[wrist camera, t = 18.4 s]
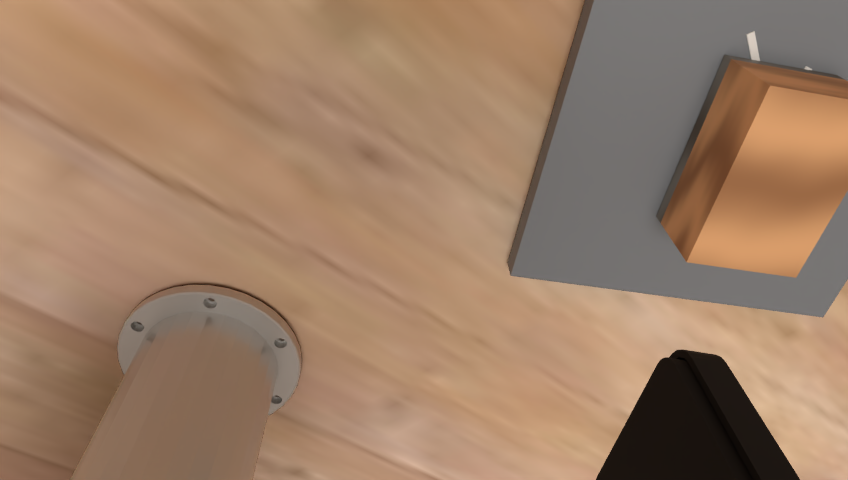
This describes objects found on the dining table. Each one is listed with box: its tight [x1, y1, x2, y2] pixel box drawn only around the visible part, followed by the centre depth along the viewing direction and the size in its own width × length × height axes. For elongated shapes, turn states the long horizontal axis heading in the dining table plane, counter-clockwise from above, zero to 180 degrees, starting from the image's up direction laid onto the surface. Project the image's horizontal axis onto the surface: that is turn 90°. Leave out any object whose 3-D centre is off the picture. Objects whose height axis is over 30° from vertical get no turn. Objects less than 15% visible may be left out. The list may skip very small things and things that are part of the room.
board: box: [508, 0, 848, 317], centre depth 38 cm, size 22×22×2 cm
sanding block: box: [656, 55, 848, 278], centre depth 35 cm, size 10×6×5 cm, turn 170°
